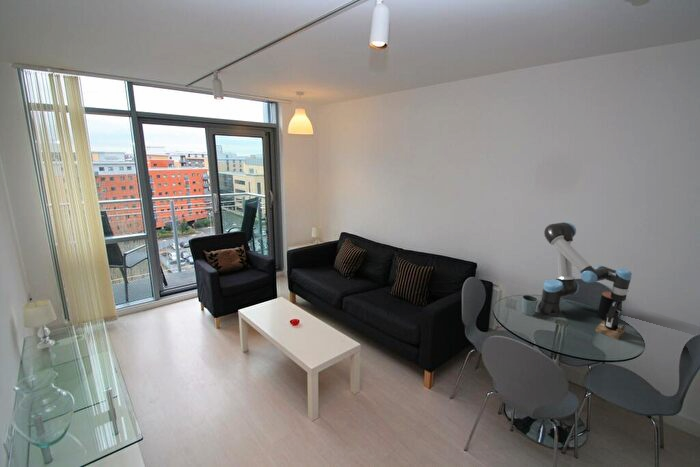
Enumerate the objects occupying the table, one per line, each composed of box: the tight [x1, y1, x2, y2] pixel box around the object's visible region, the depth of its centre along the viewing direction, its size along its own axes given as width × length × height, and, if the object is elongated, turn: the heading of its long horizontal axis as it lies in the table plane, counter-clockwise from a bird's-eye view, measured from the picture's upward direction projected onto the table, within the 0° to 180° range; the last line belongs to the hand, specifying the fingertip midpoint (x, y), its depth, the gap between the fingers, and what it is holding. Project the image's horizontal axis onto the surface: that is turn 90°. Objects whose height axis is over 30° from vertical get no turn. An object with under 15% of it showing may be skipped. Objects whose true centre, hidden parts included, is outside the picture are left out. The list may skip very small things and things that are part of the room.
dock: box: [595, 320, 626, 341], centre depth 210 cm, size 12×13×5 cm
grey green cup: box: [521, 294, 539, 317], centre depth 233 cm, size 10×10×12 cm
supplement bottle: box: [604, 310, 621, 330], centre depth 208 cm, size 7×7×12 cm
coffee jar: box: [597, 290, 614, 321], centre depth 225 cm, size 11×11×18 cm
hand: (611, 322), depth 209 cm, fingers open, 13 cm apart
